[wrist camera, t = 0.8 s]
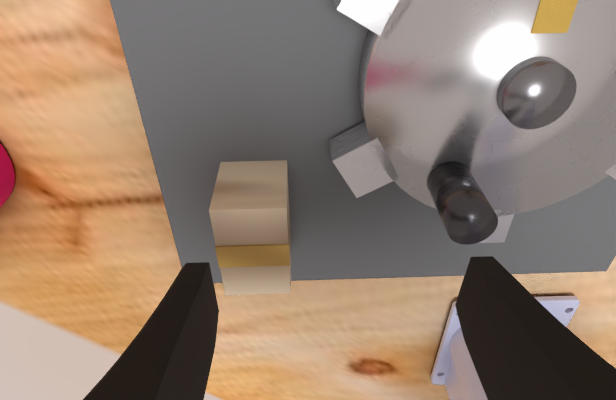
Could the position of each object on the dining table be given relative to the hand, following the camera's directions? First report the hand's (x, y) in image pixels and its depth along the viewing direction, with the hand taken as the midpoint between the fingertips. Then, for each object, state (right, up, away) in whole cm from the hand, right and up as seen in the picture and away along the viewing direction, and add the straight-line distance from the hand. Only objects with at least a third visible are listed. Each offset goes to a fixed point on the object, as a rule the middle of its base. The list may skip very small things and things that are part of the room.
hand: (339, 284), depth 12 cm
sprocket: (+7, +7, +5) cm, 11 cm away
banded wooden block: (-3, +2, +9) cm, 10 cm away
